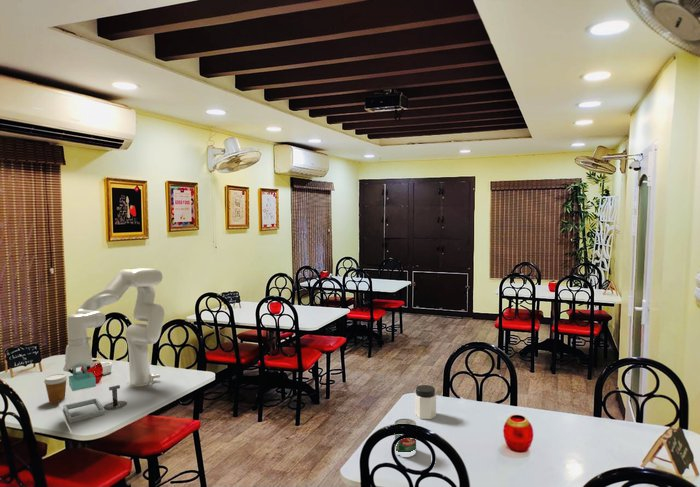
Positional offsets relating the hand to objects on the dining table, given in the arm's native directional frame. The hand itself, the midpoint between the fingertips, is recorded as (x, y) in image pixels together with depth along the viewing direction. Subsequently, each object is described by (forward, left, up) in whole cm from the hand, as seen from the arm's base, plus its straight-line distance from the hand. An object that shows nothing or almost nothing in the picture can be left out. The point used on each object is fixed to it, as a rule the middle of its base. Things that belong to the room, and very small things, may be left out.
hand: (80, 381), depth 221 cm
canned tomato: (-87, +119, -14) cm, 148 cm away
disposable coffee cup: (+7, -20, -14) cm, 25 cm away
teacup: (-18, -48, -14) cm, 53 cm away
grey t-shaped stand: (-13, +6, -13) cm, 20 cm away
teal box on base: (0, +4, 0) cm, 4 cm away
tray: (0, +5, -13) cm, 14 cm away
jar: (-116, +101, -14) cm, 154 cm away
